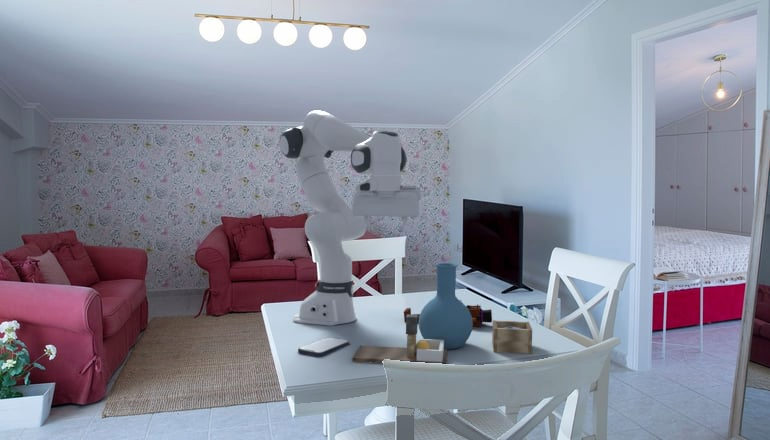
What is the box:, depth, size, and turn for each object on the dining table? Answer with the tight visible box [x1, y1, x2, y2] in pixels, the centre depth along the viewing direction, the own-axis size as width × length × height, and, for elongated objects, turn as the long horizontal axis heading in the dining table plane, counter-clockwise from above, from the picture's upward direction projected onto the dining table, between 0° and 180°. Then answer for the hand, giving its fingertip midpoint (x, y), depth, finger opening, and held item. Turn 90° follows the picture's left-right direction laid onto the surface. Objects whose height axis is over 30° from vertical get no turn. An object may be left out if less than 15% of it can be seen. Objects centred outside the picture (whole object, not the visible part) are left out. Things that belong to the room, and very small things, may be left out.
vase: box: [418, 262, 473, 350], centre depth 179 cm, size 16×16×25 cm
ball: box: [416, 340, 430, 351], centre depth 166 cm, size 4×4×4 cm
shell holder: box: [491, 319, 533, 355], centre depth 177 cm, size 11×10×7 cm
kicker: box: [405, 313, 419, 357], centre depth 166 cm, size 3×6×11 cm, turn 172°
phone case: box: [297, 337, 350, 358], centre depth 175 cm, size 9×2×16 cm
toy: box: [403, 299, 493, 329], centre depth 206 cm, size 26×7×30 cm
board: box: [351, 345, 448, 365], centre depth 167 cm, size 26×12×1 cm, turn 82°
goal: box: [417, 338, 445, 362], centre depth 165 cm, size 7×11×3 cm, turn 172°
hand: (386, 231), depth 175 cm, fingers open, 8 cm apart
